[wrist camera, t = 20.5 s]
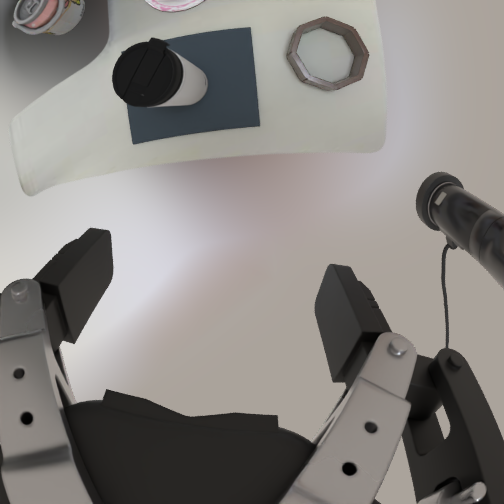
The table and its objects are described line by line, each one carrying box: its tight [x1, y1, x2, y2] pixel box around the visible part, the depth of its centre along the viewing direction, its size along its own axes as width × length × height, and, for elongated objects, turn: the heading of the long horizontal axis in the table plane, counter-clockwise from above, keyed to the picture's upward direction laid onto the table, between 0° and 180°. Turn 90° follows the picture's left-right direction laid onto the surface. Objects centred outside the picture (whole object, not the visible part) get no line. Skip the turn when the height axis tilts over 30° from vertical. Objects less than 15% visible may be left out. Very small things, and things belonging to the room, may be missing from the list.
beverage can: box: [12, 0, 85, 35], centre depth 23 cm, size 9×8×12 cm
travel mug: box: [112, 38, 208, 107], centre depth 28 cm, size 6×7×20 cm
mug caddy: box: [287, 17, 369, 91], centre depth 33 cm, size 11×11×4 cm
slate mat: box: [121, 27, 260, 144], centre depth 37 cm, size 20×16×1 cm
